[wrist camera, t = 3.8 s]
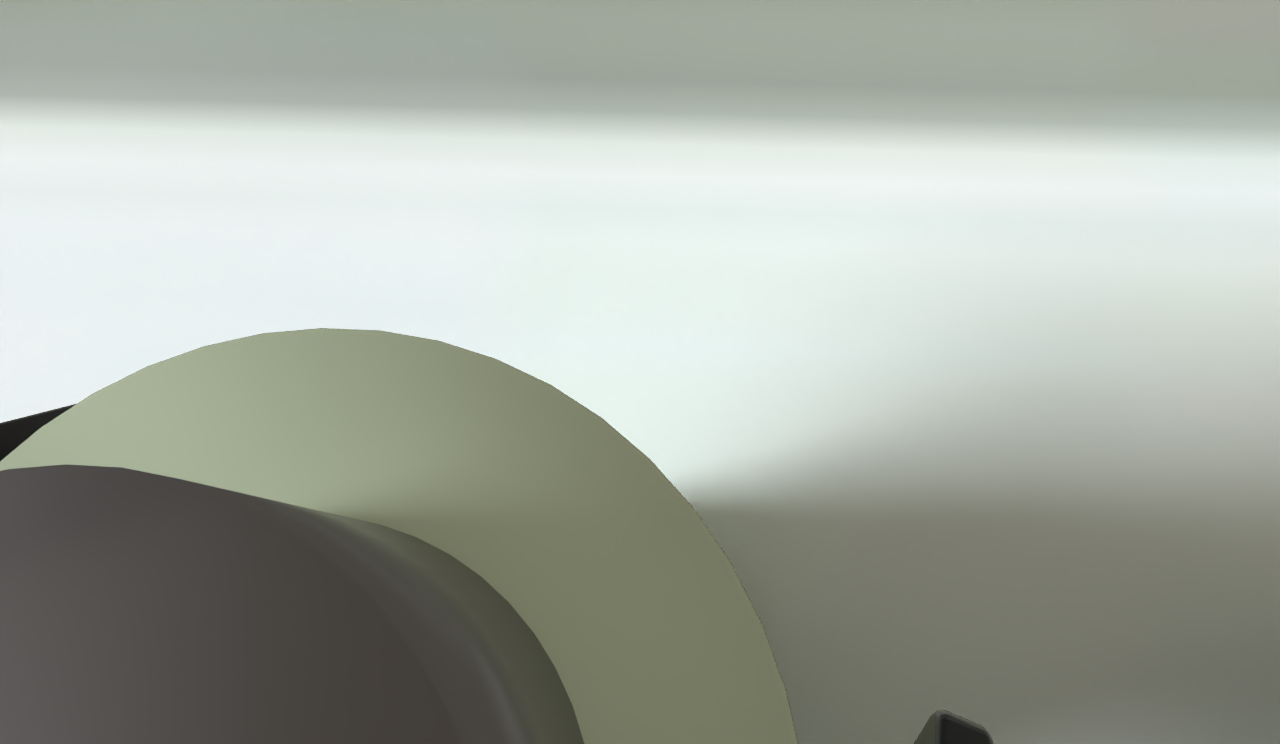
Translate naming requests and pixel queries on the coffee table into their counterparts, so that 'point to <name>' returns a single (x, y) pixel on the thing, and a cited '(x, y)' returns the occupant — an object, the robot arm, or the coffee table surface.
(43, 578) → the pale green bottle
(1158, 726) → the coffee table surface
